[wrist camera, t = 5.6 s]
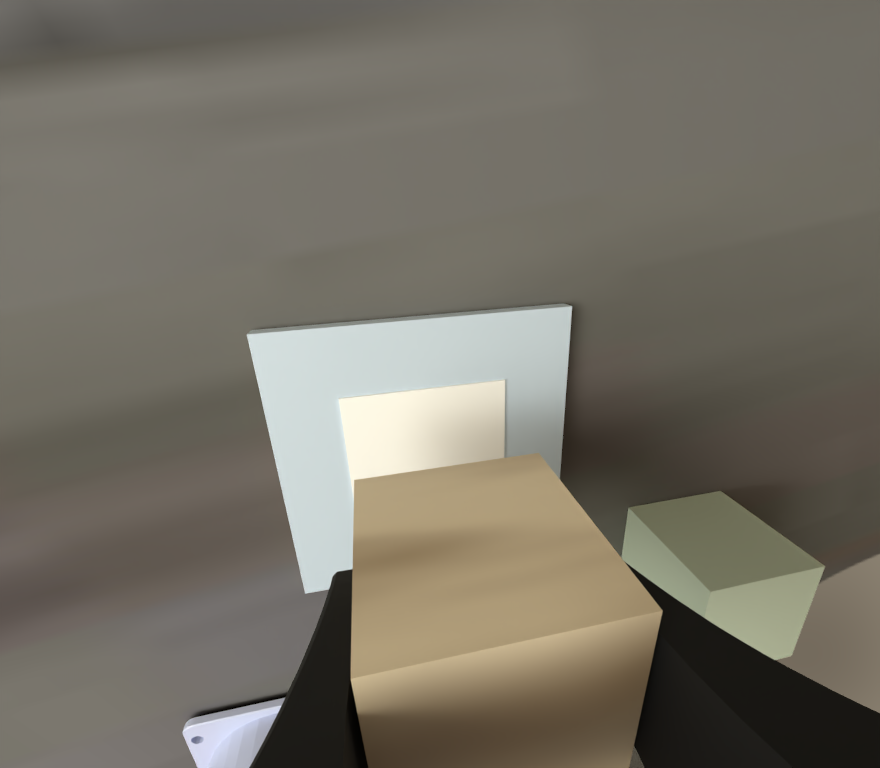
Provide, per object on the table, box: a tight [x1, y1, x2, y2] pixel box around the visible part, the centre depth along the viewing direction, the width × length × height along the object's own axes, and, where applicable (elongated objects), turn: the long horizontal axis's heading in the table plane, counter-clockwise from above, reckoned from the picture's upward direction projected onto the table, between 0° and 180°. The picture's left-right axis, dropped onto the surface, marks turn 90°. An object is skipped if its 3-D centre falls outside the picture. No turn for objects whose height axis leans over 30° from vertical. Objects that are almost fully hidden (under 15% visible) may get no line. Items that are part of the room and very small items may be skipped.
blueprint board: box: [247, 303, 572, 594], centre depth 16 cm, size 11×11×1 cm
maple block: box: [351, 453, 663, 768], centre depth 9 cm, size 5×5×5 cm
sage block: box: [622, 491, 825, 660], centre depth 19 cm, size 5×5×5 cm
